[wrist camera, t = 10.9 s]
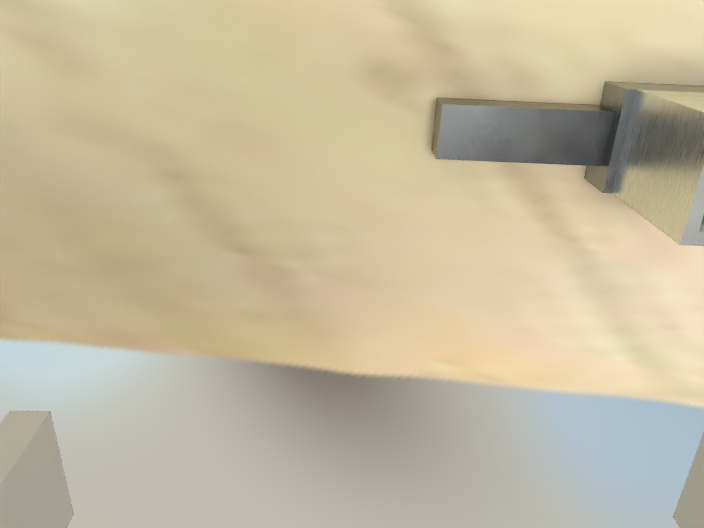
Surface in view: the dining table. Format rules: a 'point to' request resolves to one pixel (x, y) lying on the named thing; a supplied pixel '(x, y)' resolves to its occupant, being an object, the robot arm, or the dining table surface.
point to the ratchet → (542, 130)
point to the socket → (665, 163)
